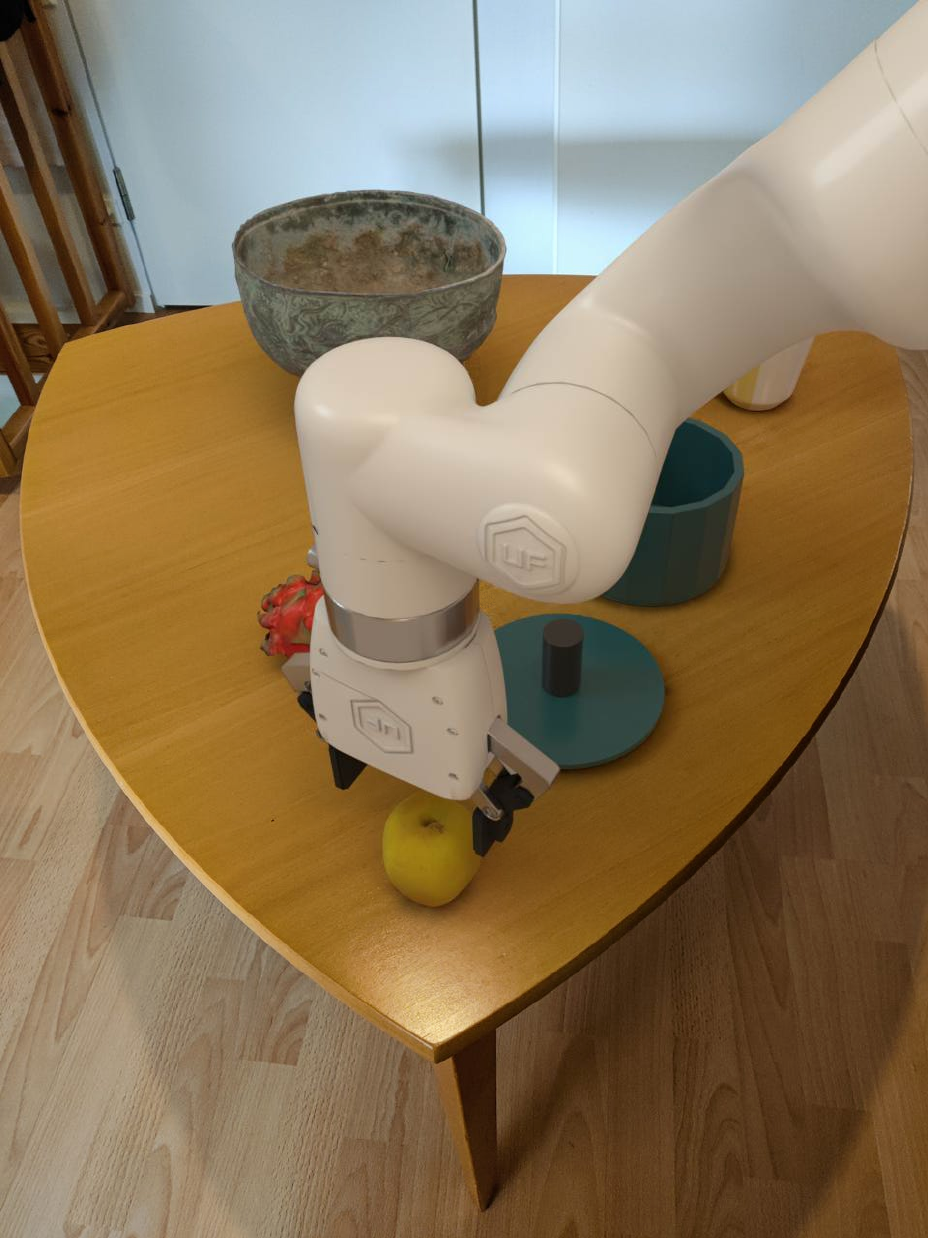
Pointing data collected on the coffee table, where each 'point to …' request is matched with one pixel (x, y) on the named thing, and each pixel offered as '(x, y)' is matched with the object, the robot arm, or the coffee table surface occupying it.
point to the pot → (686, 521)
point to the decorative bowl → (367, 274)
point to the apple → (429, 849)
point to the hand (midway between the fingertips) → (421, 804)
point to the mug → (770, 379)
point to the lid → (578, 687)
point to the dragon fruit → (290, 615)
